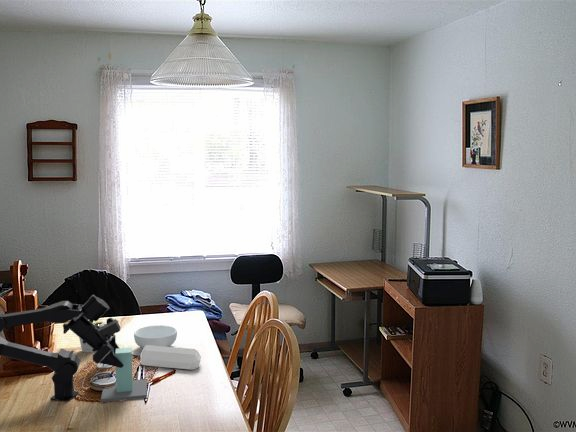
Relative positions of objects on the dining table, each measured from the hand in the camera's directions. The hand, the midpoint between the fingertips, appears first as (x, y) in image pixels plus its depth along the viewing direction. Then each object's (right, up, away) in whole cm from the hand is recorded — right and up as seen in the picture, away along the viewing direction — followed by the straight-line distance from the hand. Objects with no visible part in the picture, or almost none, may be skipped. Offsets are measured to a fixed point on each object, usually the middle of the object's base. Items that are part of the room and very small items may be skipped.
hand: (123, 361), depth 194 cm
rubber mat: (0, -10, +1) cm, 10 cm away
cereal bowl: (+1, -6, +45) cm, 46 cm away
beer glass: (-14, -8, +25) cm, 30 cm away
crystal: (+10, -8, +26) cm, 29 cm away
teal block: (0, -9, +1) cm, 9 cm away
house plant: (-26, -6, +42) cm, 49 cm away
